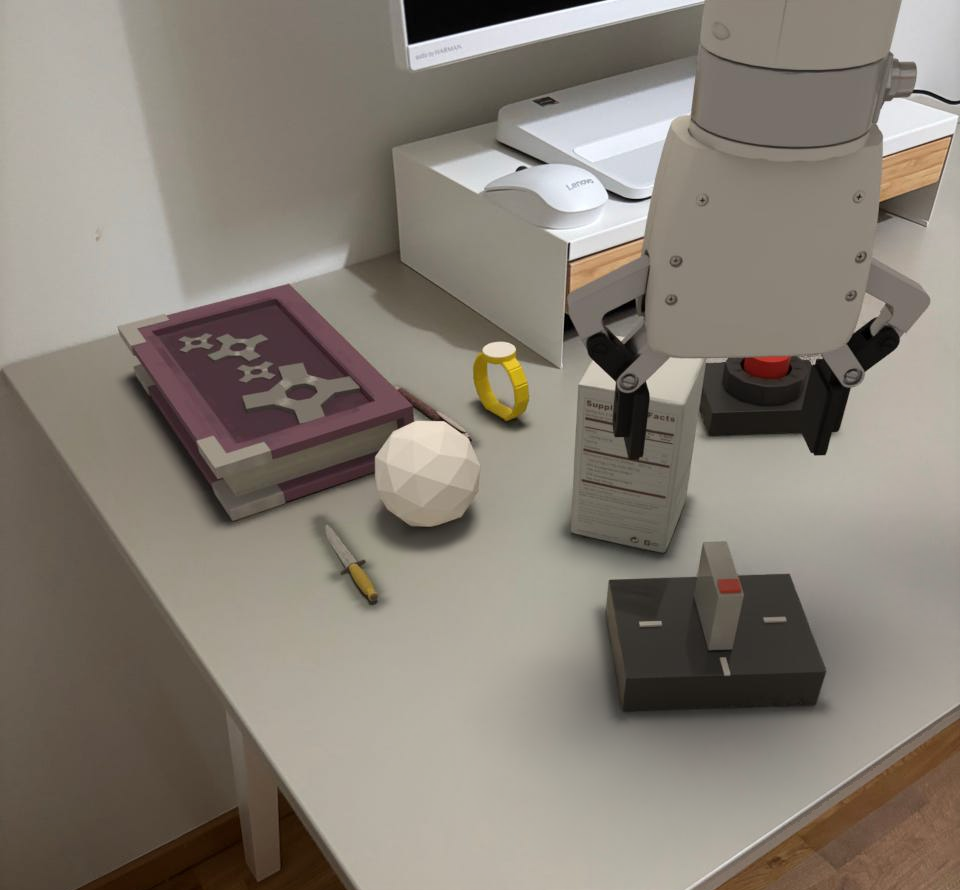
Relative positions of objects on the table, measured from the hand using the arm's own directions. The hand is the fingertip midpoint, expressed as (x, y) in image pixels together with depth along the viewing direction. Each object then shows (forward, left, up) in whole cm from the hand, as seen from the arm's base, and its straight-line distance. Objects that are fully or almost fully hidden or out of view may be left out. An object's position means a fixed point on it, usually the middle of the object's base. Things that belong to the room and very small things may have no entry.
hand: (721, 443), depth 55 cm
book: (+31, -31, -17) cm, 47 cm away
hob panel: (-1, 0, -16) cm, 16 cm away
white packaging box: (+2, -15, -17) cm, 22 cm away
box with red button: (-1, 0, -13) cm, 13 cm away
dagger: (+23, -11, -17) cm, 30 cm away
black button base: (-11, -30, -16) cm, 36 cm away
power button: (-11, -30, -13) cm, 34 cm away
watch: (+11, -30, -17) cm, 36 cm away
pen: (+17, -30, -17) cm, 38 cm away
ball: (+17, -16, -17) cm, 28 cm away
